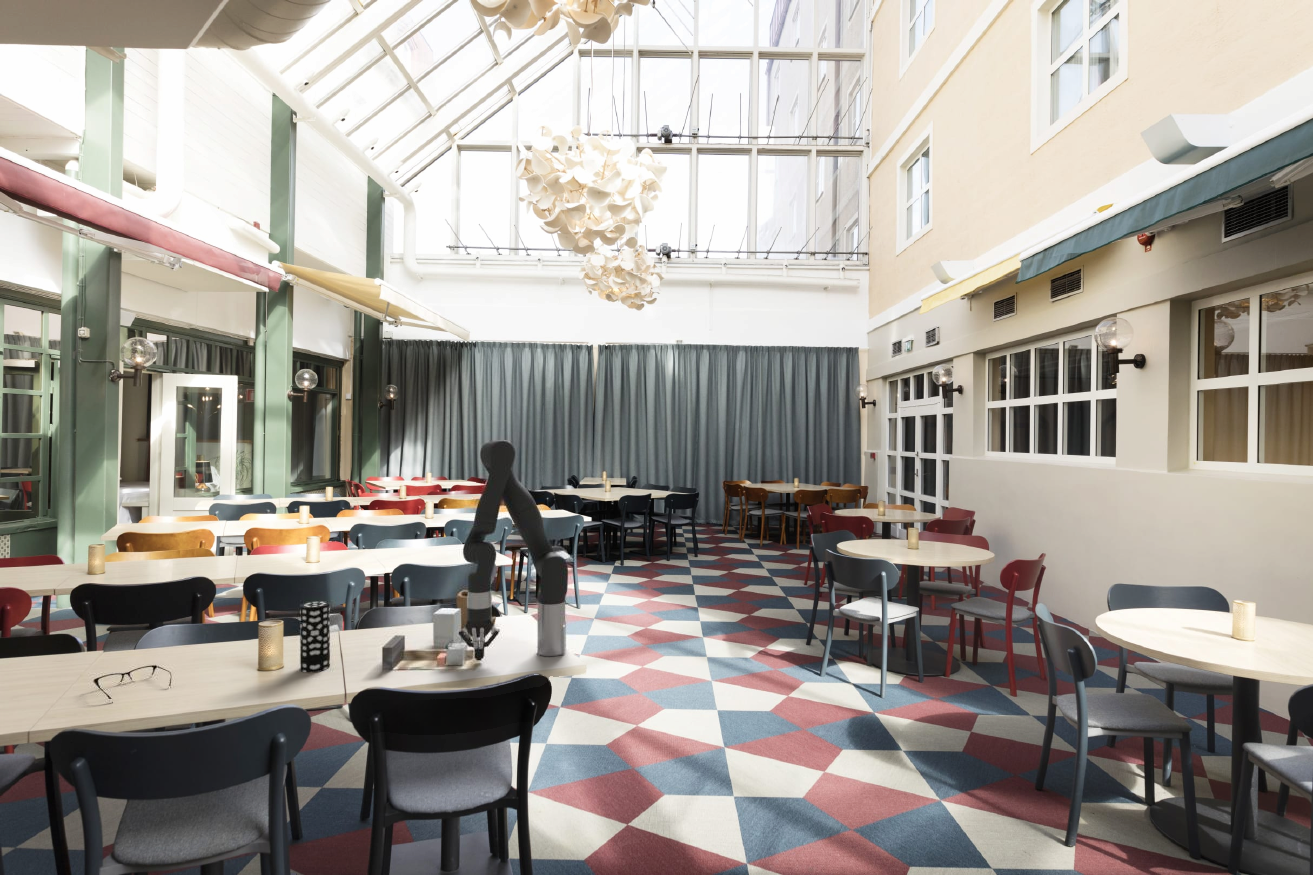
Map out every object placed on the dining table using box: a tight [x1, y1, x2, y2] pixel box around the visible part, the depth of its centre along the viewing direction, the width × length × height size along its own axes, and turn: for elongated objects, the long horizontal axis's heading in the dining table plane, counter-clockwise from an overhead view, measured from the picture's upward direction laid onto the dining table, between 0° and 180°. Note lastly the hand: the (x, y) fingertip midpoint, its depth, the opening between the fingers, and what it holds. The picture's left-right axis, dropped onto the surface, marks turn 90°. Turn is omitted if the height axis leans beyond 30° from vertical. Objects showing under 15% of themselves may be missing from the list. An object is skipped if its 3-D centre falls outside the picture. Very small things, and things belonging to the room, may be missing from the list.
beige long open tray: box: [381, 634, 482, 672], centre depth 218 cm, size 28×12×8 cm, turn 93°
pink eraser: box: [437, 653, 446, 665], centre depth 218 cm, size 2×4×2 cm, turn 3°
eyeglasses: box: [92, 664, 172, 700], centre depth 199 cm, size 16×16×4 cm
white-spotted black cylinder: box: [299, 600, 331, 674], centre depth 217 cm, size 8×8×20 cm
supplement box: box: [432, 607, 462, 648], centre depth 238 cm, size 7×7×13 cm
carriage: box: [444, 639, 468, 665], centre depth 218 cm, size 5×6×6 cm
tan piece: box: [456, 589, 497, 629], centre depth 259 cm, size 15×12×15 cm
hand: (479, 659), depth 218 cm, fingers closed
